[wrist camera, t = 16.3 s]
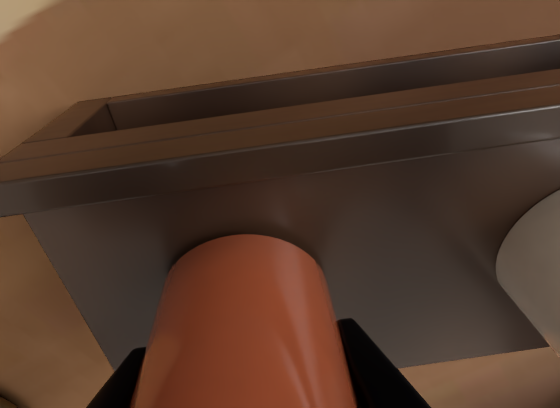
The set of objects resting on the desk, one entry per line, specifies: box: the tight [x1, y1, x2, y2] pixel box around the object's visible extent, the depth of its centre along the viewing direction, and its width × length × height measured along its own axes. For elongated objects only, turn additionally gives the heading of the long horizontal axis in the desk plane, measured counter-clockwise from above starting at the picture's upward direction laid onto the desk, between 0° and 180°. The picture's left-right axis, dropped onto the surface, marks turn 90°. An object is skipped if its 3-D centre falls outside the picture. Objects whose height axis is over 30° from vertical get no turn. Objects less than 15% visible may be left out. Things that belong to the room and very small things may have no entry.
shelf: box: [0, 35, 560, 371], centre depth 13 cm, size 20×10×6 cm, turn 97°
